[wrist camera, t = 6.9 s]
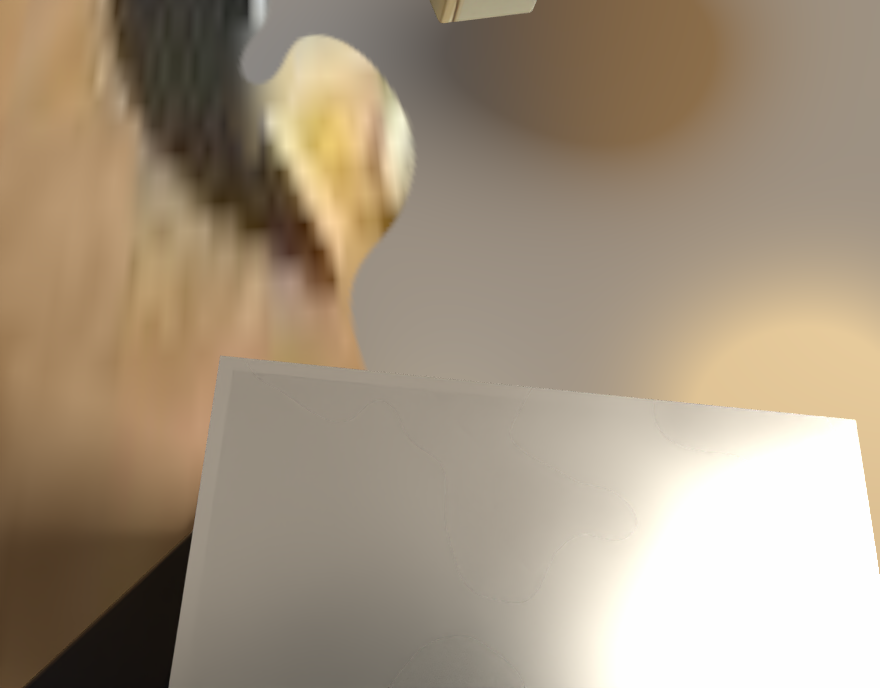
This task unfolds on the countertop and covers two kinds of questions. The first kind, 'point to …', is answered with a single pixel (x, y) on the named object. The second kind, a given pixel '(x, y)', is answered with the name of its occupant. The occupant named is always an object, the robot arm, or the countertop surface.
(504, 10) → the skincare box
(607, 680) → the sage tea tin
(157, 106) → the countertop surface
